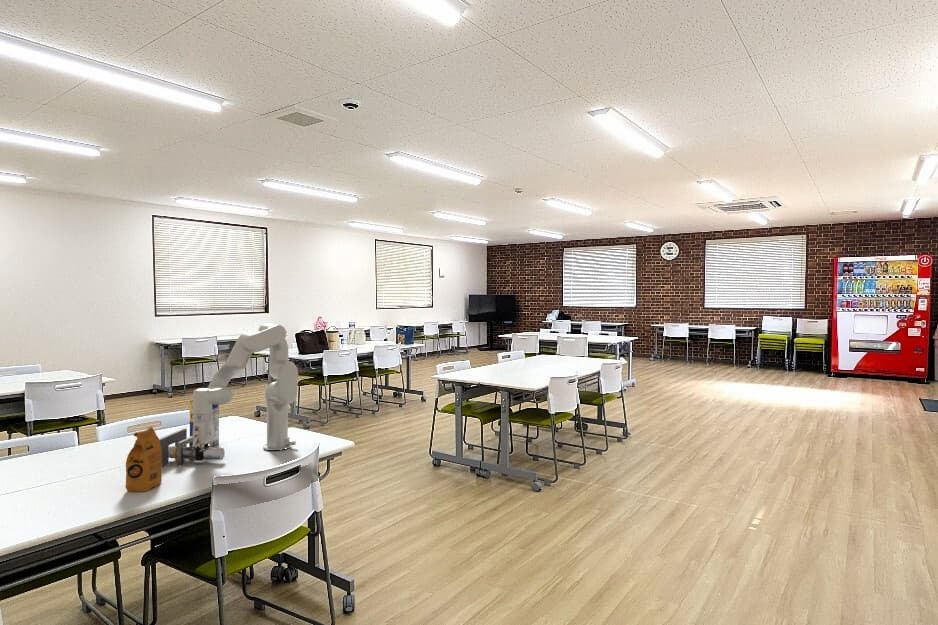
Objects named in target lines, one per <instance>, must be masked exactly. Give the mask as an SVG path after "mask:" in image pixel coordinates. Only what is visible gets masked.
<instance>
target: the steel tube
mask: <svg viewBox="0 0 938 625" xmlns="http://www.w3.org/2000/svg"><path fill="white" fill-rule="evenodd" d="M199 448H200V447H199ZM202 451H203V460H214V461H216V460H217V461H222V460H223V459H224V457H225V449H224V447H212V448H205V447H203V448H202ZM175 458H177V447H175V445H173V446H172V445H169V459H175ZM183 460H195V450H194V448H193V447H189V446H187V447H183Z"/></svg>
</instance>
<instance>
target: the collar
mask: <svg viewBox="0 0 938 625" xmlns="http://www.w3.org/2000/svg"><path fill="white" fill-rule="evenodd" d="M186 444H187V445H188V447H192V445H193V440H192V436H191V437H190V436H189V437H187V438H186V439H184V440H182V441H180V442H178V443H177V459H176V465H181V466H183V465H184V459H183V446H184V445H186Z"/></svg>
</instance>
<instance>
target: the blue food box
mask: <svg viewBox="0 0 938 625" xmlns="http://www.w3.org/2000/svg"><path fill="white" fill-rule="evenodd" d="M212 420H213V426H214V439H213V440H212V441H211V447H209V448H215V447H216V446H218V445H219V444H220V404H212ZM193 424H194V422H193V399H192V400H190V401H189V437H191V436H192V435H193ZM198 444H200V443H198ZM199 447H200V446H199Z"/></svg>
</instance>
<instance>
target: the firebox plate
mask: <svg viewBox="0 0 938 625" xmlns="http://www.w3.org/2000/svg"><path fill="white" fill-rule="evenodd" d="M187 432H188V431H187V427H186V428H181V429H179V430H176V431H173V432H171V433H169V434H167V435H164V436H162V437H160V438H159V437H158V438H159V440H160V444H161V452H162V468H163V467H165V466H167V465H169V462H170V461H169V459H170V458H169V446H172V445H173V444H174V446H175V447H177V443H178V442H180V441H182V440H184V439H186V438H188V436H187V434H188V433H187ZM187 445H188V444H186V445H184V446H183V447H188V446H187ZM174 459H175V460H177V458H174Z"/></svg>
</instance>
